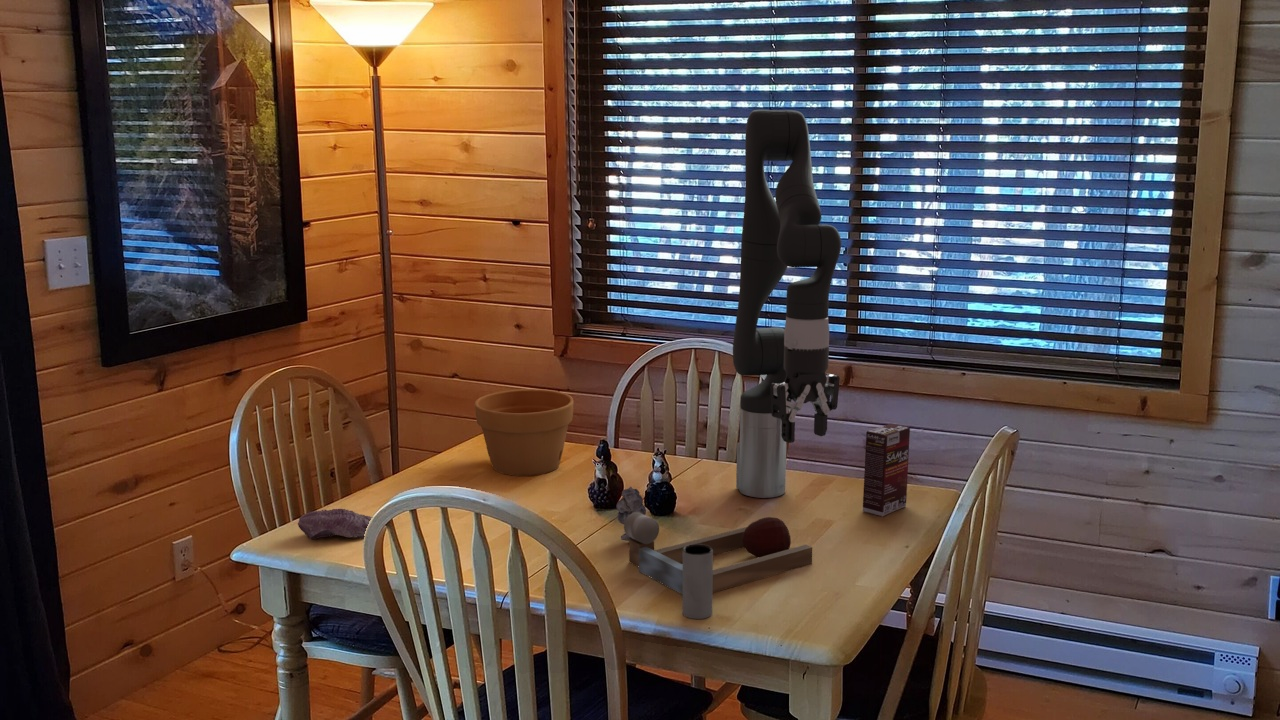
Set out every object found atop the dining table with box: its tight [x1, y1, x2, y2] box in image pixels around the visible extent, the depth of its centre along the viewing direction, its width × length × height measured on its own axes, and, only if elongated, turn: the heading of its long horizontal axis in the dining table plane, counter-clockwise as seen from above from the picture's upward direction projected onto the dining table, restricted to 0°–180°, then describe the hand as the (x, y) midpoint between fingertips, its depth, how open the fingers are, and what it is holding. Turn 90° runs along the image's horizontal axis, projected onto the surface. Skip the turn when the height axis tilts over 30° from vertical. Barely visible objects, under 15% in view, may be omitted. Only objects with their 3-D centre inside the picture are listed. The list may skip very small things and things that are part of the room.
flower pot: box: [474, 388, 575, 477], centre depth 256 cm, size 21×21×15 cm
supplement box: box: [862, 423, 911, 517], centre depth 227 cm, size 9×5×16 cm, turn 136°
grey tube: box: [681, 544, 714, 620], centre depth 180 cm, size 4×4×10 cm
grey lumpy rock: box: [615, 486, 647, 542], centre depth 211 cm, size 5×5×10 cm
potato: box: [742, 516, 792, 558], centre depth 203 cm, size 7×8×7 cm
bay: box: [623, 512, 813, 595], centre depth 200 cm, size 19×26×8 cm
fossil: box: [297, 508, 373, 540], centre depth 215 cm, size 8×14×5 cm, turn 108°
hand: (804, 438), depth 205 cm, fingers open, 6 cm apart
